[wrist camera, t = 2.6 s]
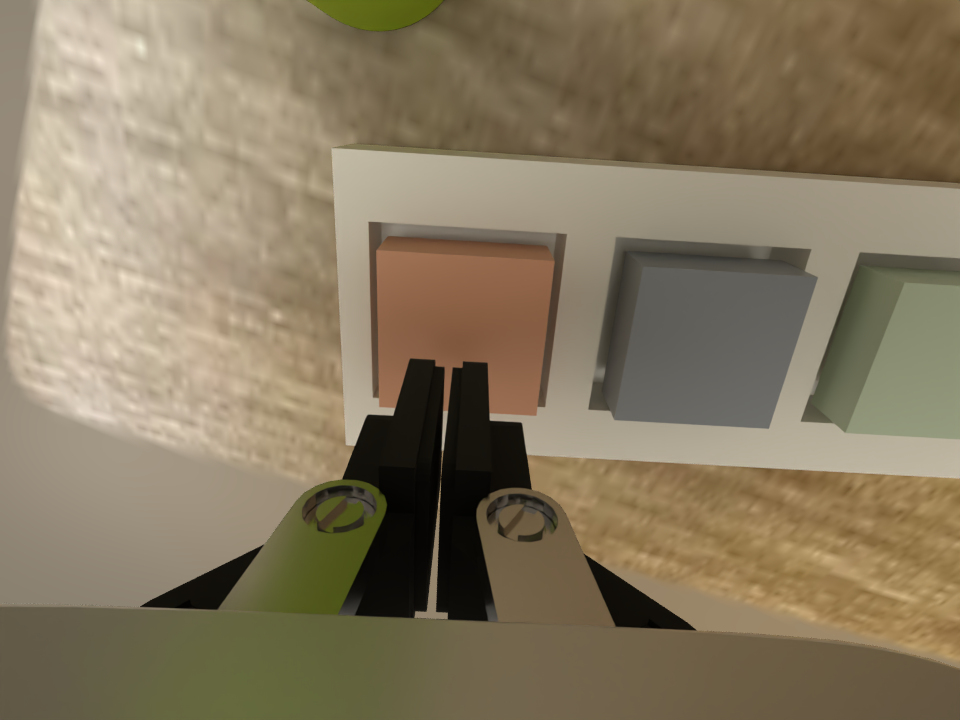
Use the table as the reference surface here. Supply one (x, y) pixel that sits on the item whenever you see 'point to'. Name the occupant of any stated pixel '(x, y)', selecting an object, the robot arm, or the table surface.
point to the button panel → (598, 270)
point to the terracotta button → (464, 314)
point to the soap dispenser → (377, 12)
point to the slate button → (703, 338)
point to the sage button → (896, 356)
